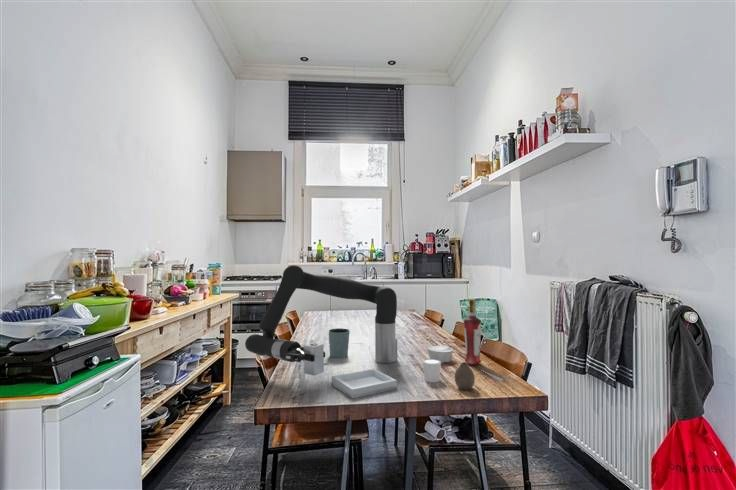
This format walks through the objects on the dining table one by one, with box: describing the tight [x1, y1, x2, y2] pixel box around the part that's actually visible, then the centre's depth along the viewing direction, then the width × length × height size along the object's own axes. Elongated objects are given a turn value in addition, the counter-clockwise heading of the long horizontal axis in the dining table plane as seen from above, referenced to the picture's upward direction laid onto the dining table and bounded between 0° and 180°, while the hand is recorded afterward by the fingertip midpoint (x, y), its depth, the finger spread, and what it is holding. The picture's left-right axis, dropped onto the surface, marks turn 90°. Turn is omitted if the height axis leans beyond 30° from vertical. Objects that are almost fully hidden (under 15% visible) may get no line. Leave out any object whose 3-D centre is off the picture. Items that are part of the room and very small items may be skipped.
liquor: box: [463, 298, 482, 366], centre depth 162 cm, size 7×7×28 cm
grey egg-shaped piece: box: [454, 362, 476, 391], centre depth 132 cm, size 7×7×9 cm
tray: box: [331, 368, 398, 399], centre depth 134 cm, size 18×16×3 cm
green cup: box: [328, 328, 350, 359], centre depth 177 cm, size 10×10×12 cm
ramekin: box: [427, 345, 454, 364], centre depth 168 cm, size 11×11×5 cm
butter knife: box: [480, 369, 504, 382], centre depth 153 cm, size 1×27×3 cm
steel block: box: [303, 342, 325, 377], centre depth 134 cm, size 5×5×10 cm
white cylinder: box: [422, 358, 442, 383], centre depth 141 cm, size 7×7×7 cm
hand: (319, 356), depth 133 cm, fingers closed on steel block, 5 cm apart
